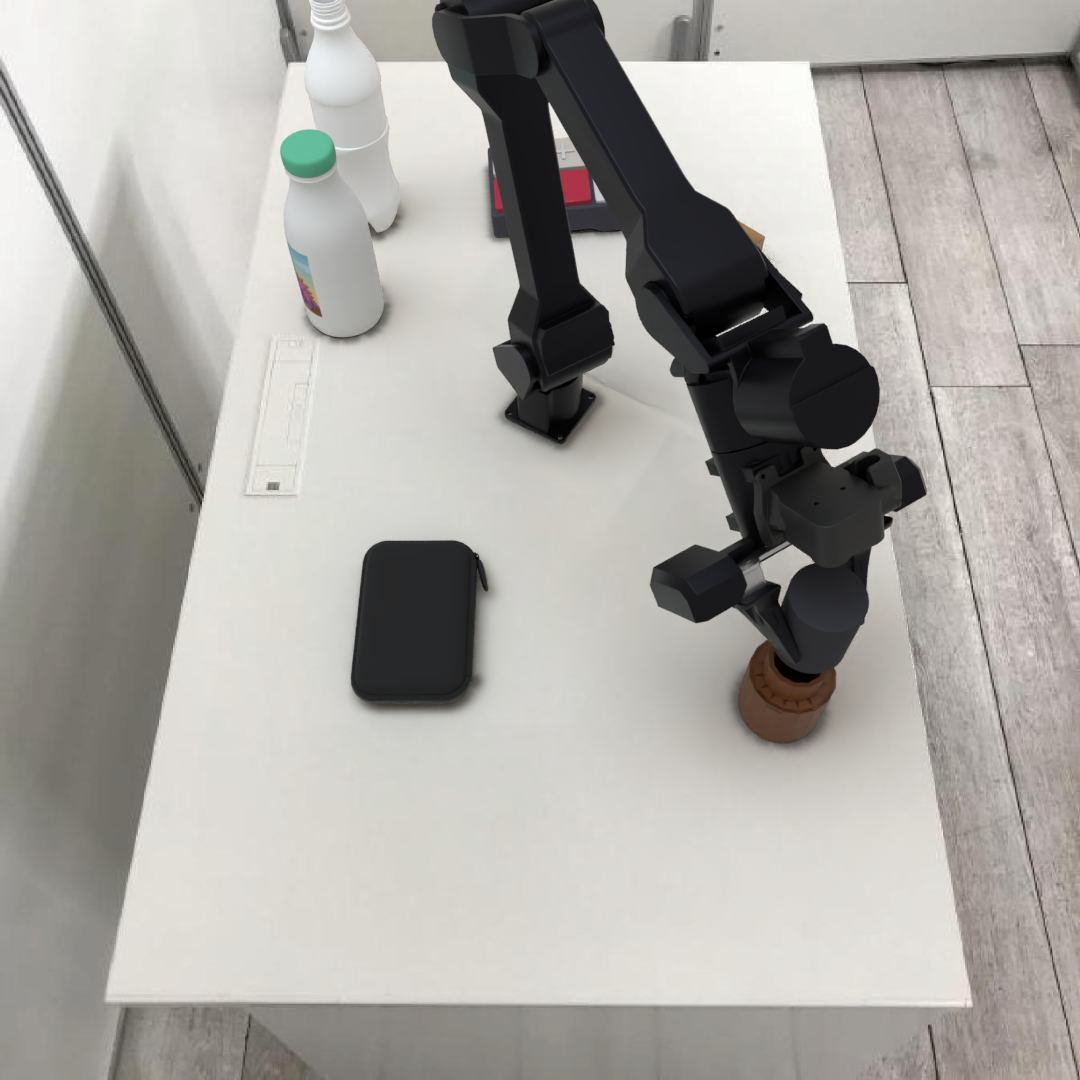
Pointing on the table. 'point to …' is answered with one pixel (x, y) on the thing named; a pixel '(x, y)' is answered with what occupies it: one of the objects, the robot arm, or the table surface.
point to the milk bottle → (329, 239)
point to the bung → (823, 615)
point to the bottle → (782, 697)
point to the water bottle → (351, 110)
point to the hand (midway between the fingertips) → (826, 643)
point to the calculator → (578, 191)
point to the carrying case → (416, 622)
